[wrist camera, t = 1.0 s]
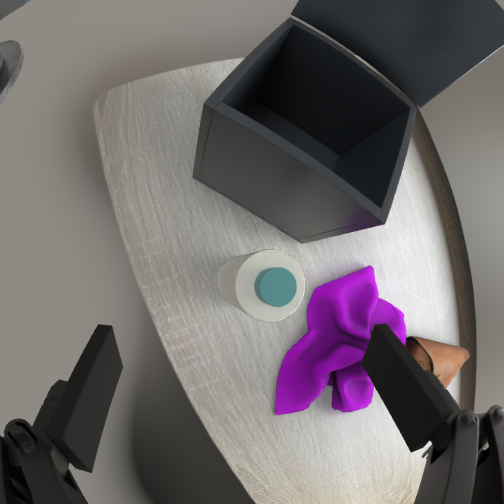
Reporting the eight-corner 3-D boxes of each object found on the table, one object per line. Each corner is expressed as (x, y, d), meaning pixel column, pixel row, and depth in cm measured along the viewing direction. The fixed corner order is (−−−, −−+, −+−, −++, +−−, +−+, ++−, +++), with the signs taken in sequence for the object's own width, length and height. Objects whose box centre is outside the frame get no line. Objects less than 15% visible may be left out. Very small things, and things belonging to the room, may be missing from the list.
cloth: (344, 242, 34) (374, 236, 28) (419, 319, 36) (448, 323, 31) (237, 392, 29) (250, 417, 23) (338, 442, 32) (360, 462, 26)
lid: (521, 33, 7) (518, 30, 7) (367, -96, 4) (368, -94, 4) (420, 108, 20) (420, 104, 20) (290, 14, 17) (293, 12, 18)
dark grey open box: (301, 243, 32) (385, 224, 18) (192, 177, 30) (203, 103, 15) (342, 157, 35) (417, 108, 20) (250, 97, 32) (290, 16, 18)
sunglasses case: (388, 389, 34) (422, 377, 29) (386, 346, 38) (418, 330, 33) (447, 389, 38) (475, 378, 33) (444, 356, 42) (470, 343, 37)
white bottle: (207, 290, 29) (225, 304, 17) (231, 248, 30) (264, 232, 18) (249, 312, 30) (292, 338, 18) (271, 271, 31) (326, 271, 19)
